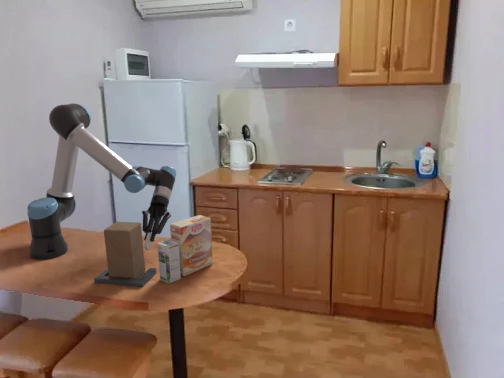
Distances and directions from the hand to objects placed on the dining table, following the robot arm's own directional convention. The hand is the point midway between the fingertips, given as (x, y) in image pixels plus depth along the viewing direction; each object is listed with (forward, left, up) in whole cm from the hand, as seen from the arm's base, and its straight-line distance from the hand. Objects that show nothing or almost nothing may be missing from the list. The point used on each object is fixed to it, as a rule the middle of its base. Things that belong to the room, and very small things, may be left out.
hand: (146, 248), depth 172 cm
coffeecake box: (+22, -5, -5) cm, 23 cm away
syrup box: (+17, -16, -5) cm, 24 cm away
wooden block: (-1, -16, -5) cm, 17 cm away
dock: (0, -18, -5) cm, 18 cm away
